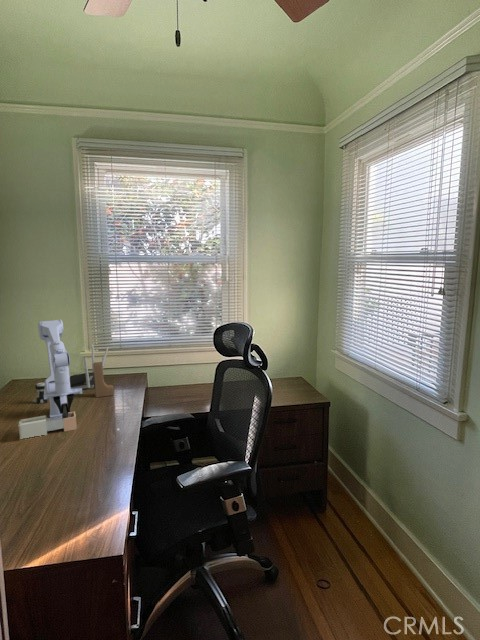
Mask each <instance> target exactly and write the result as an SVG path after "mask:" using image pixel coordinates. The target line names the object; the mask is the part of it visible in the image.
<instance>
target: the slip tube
mask: <svg viewBox="0 0 480 640" xmlns="http://www.w3.org/2000/svg"><path fill="white" fill-rule="evenodd" d="M61 409H62V416H57V417H51V418H50V417H49V418H47V417H46V429H47V432H50V431H51V432H52V431H57V430H61V429H64V422H63V418H68V417H71V415H70V414H69V415H68V402H67V403H63V404H61Z"/></svg>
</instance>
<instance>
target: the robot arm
mask: <svg viewBox="0 0 480 640" xmlns="http://www.w3.org/2000/svg"><path fill="white" fill-rule="evenodd" d="M37 326H38V327H37V328H38V333H39V338H40V340H42V341H44V343H45V344H46V352H47V359H48V366H49V374H50V375H49V376H47V378H46V379H45V380H44V383H45V394H44V400H45V399H48V401H49V418H53V417H58V416H62V409H61V404H63V403H67V404H68V413H69V412H71V407H72V402H73V400H74V398H75V395H78V394H79V395H82V394H83V389H82V388H78V389H71V388H70V376H71V375H70V364H71V357H70V355H69V352H68V351H67V350H66V347H65V343H64V342H63V341H61V338H62V337H63V333H64V323H63V320H62V319H55V320H43V321H41V320H39V321H38V322H37Z"/></svg>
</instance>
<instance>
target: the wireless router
mask: <svg viewBox="0 0 480 640" xmlns="http://www.w3.org/2000/svg"><path fill="white" fill-rule="evenodd" d="M94 346H95V345H94V343H92V344H91V362H92V363H91V367H92V371H91V372H89V368H88V360H87V359H88V358H87V357H86V356H84V358H83V360H84V369H85V370H84V373H80V374H79V373H78V374H73V375H69V376H70V388H71V389H78V388H82V390H84V389H93V388H95V383H94V369H93V363H96V362H95V361H96V359H95V347H94ZM108 351H109V346H107V347H106V349H105V352H104V355H103V356H102V358H101V362H102V363H103V368H104V366H105V362H106V358H107V355H108Z"/></svg>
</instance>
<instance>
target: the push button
mask: <svg viewBox="0 0 480 640" xmlns="http://www.w3.org/2000/svg"><path fill="white" fill-rule="evenodd" d="M34 387H35V390H36V392H37V397H36V399H34V400H33V402H35V403H36V404H45V403H48V401H49V398H48V399H45V400H44V394H45V381H44V382H38V383H36V384H35V385H34Z"/></svg>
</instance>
